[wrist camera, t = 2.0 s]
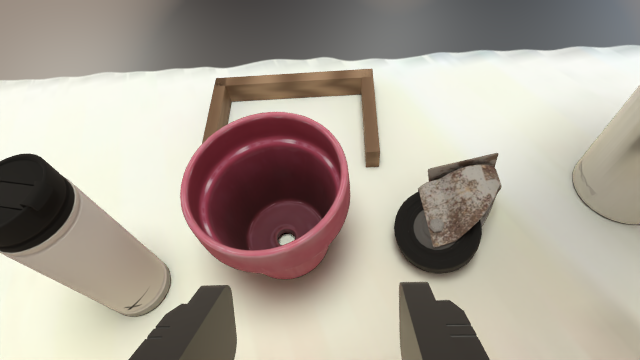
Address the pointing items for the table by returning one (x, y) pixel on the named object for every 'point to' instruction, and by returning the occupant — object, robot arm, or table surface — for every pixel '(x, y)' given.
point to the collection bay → (298, 88)
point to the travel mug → (75, 239)
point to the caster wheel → (448, 214)
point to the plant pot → (267, 193)
